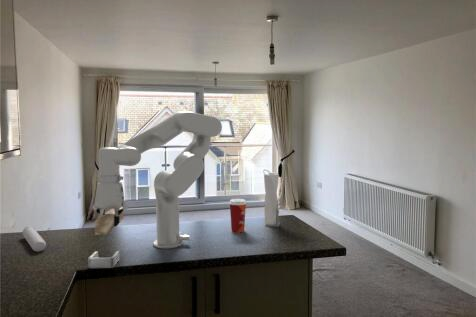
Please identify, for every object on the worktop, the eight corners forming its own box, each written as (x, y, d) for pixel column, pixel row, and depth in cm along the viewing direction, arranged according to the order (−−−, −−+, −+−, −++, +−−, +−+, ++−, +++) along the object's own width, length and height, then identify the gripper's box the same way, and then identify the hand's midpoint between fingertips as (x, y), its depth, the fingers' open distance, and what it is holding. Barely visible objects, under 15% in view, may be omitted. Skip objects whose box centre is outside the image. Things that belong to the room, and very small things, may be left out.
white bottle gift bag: (262, 226, 188) (262, 170, 185) (263, 221, 195) (263, 168, 192) (279, 227, 186) (279, 170, 183) (279, 222, 194) (280, 168, 191)
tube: (49, 241, 153) (36, 227, 173) (35, 240, 150) (24, 225, 170) (45, 254, 153) (33, 238, 172) (31, 253, 150) (20, 237, 169)
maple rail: (123, 219, 159) (123, 207, 158) (106, 234, 137) (105, 221, 136) (114, 218, 158) (113, 207, 158) (95, 234, 137) (94, 221, 136)
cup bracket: (119, 260, 143) (119, 251, 143) (113, 267, 136) (113, 258, 135) (95, 260, 143) (95, 251, 143) (88, 268, 136) (87, 258, 135)
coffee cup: (246, 233, 175) (246, 202, 174) (228, 233, 176) (228, 202, 174) (246, 228, 184) (246, 198, 182) (229, 228, 184) (229, 198, 182)
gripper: (133, 178, 150) (134, 223, 151) (91, 177, 149) (92, 222, 151) (128, 181, 142) (129, 228, 144) (83, 180, 142) (85, 228, 144)
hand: (110, 225), depth 148 cm, fingers closed on maple rail, 4 cm apart
